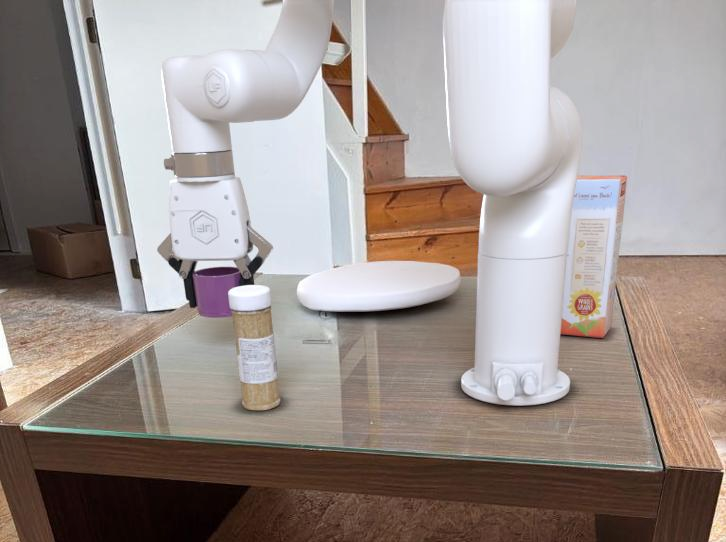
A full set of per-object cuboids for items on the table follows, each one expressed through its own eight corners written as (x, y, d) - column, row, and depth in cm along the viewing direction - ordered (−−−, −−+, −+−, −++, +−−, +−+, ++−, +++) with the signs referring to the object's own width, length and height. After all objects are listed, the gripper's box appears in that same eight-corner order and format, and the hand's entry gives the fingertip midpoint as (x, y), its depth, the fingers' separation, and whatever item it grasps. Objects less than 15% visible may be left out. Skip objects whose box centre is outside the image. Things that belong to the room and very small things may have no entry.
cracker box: (611, 328, 106) (630, 173, 97) (603, 340, 102) (621, 178, 92) (517, 320, 112) (526, 174, 103) (505, 331, 107) (513, 178, 98)
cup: (238, 318, 99) (233, 276, 96) (190, 317, 100) (184, 276, 97) (252, 305, 105) (248, 266, 102) (207, 305, 106) (202, 266, 103)
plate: (280, 294, 114) (308, 262, 137) (288, 334, 117) (314, 296, 140) (460, 270, 110) (457, 241, 133) (463, 313, 112) (460, 277, 136)
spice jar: (250, 397, 87) (236, 283, 81) (286, 398, 86) (275, 283, 80) (236, 411, 83) (220, 292, 77) (274, 413, 82) (261, 293, 76)
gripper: (128, 171, 92) (152, 312, 100) (261, 168, 89) (274, 313, 97) (152, 166, 98) (173, 299, 106) (277, 163, 95) (288, 299, 104)
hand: (221, 304), depth 102 cm, fingers closed on cup, 6 cm apart
